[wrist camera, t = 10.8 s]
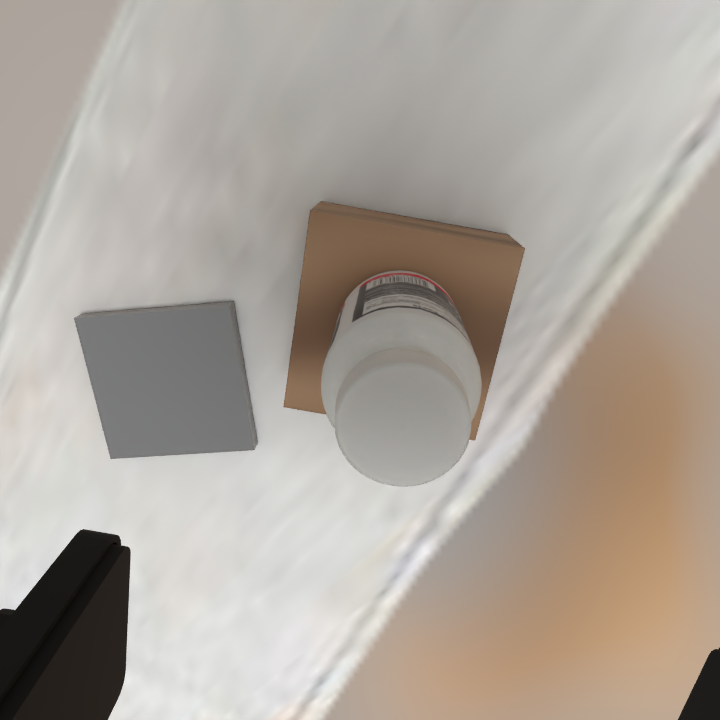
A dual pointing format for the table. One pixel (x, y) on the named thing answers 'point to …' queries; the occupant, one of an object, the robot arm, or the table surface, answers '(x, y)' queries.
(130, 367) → the slate coaster
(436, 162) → the table surface
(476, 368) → the pill bottle
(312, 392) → the walnut block
